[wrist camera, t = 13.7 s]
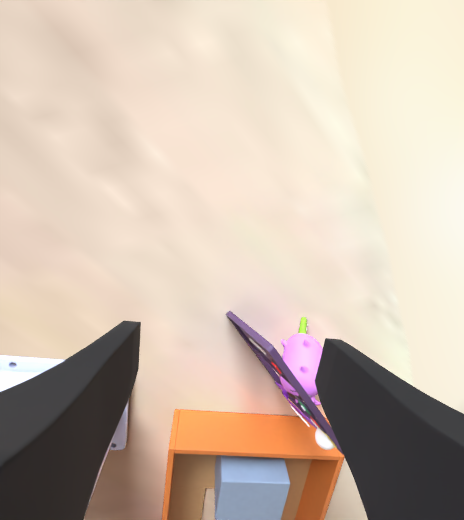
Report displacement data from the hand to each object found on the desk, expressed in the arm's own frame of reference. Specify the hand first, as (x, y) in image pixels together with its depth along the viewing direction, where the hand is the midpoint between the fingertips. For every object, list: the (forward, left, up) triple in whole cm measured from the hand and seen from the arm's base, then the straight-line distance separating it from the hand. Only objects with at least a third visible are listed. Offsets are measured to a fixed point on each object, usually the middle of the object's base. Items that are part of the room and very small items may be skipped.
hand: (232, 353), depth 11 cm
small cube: (+4, -16, -9) cm, 19 cm away
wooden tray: (+4, -22, -9) cm, 24 cm away
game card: (+5, -5, -10) cm, 12 cm away
